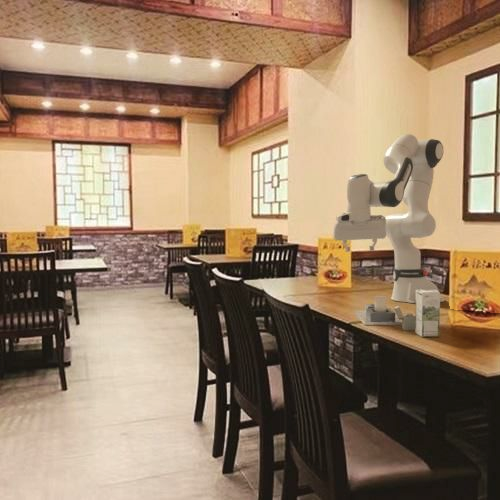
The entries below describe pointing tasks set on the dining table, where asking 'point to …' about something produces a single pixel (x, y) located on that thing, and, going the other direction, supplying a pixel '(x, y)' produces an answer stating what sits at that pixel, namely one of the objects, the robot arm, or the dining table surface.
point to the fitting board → (377, 316)
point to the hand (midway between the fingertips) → (359, 251)
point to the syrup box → (427, 313)
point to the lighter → (406, 319)
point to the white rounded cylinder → (380, 304)
